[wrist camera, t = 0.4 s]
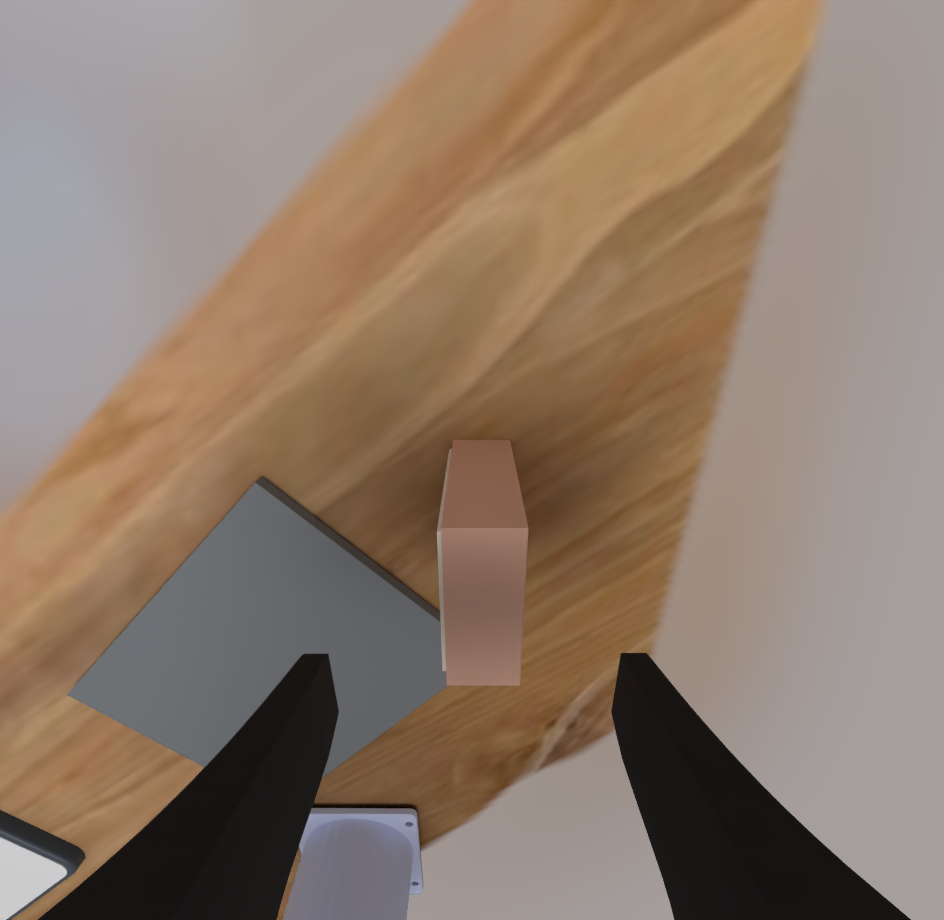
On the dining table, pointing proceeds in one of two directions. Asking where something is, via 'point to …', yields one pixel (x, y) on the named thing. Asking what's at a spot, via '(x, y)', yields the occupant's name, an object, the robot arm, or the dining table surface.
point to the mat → (268, 635)
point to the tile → (482, 565)
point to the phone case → (31, 864)
